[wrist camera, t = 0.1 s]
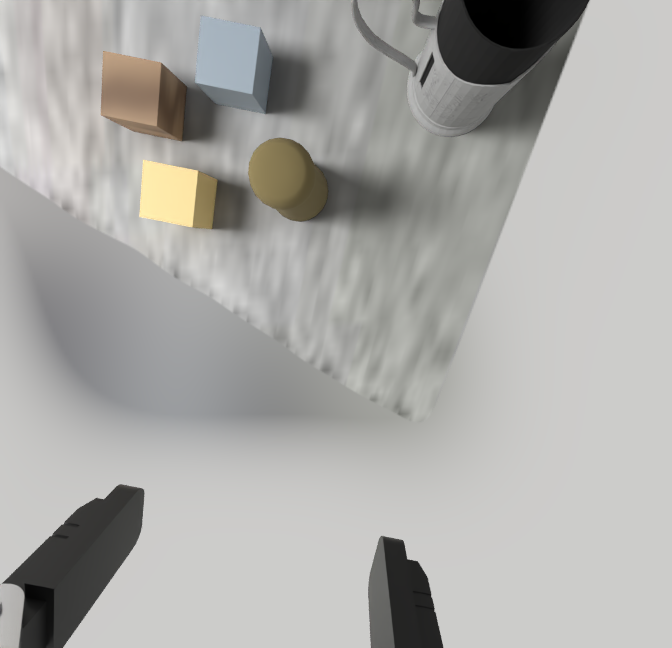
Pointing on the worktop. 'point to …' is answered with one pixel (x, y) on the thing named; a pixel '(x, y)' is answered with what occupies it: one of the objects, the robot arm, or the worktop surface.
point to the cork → (287, 179)
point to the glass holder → (474, 55)
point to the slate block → (233, 64)
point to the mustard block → (177, 195)
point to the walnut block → (142, 96)
